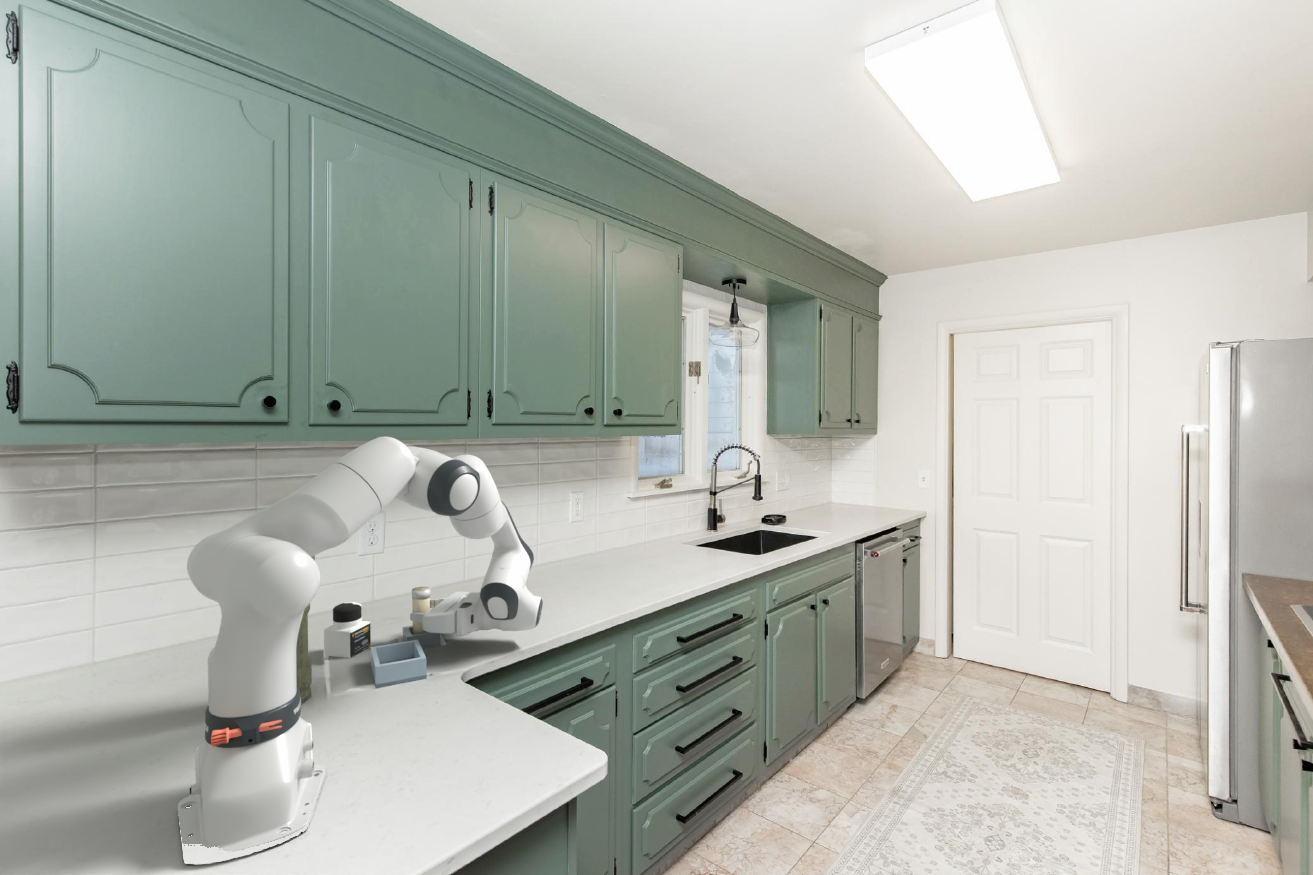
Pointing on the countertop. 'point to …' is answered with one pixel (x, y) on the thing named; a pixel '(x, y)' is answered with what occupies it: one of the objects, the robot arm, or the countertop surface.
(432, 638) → the socket block
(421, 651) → the parts tray
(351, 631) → the medicine bottle
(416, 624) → the fuse
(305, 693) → the thermos
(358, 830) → the countertop surface
